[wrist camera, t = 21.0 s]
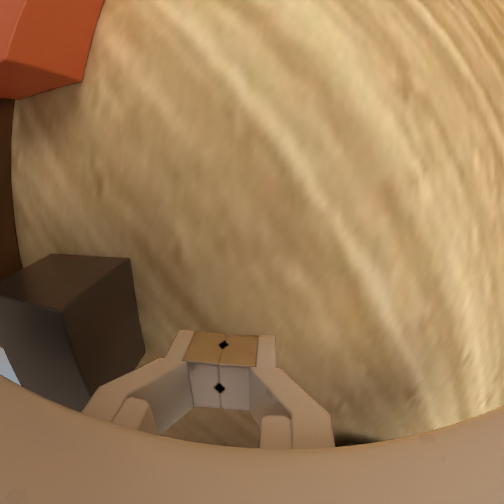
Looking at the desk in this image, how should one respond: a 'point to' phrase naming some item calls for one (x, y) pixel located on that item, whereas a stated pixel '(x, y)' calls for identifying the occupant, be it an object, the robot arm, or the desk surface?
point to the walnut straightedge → (7, 197)
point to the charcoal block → (70, 326)
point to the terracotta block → (44, 44)
